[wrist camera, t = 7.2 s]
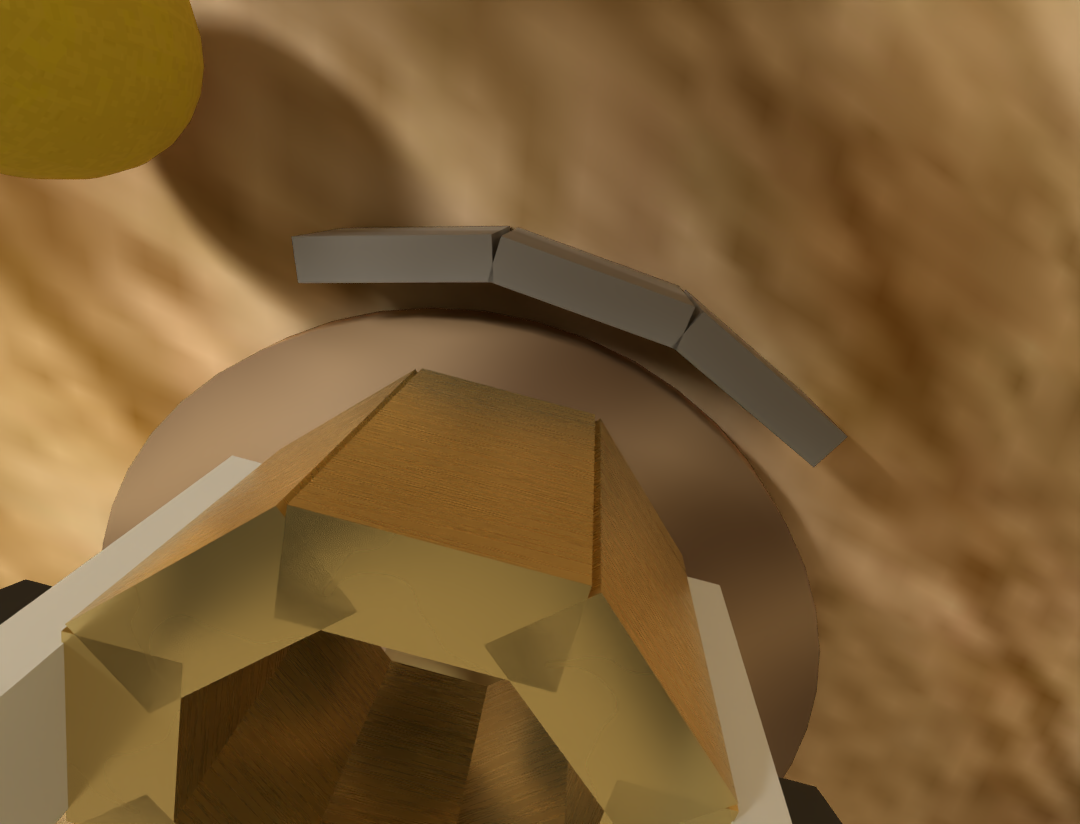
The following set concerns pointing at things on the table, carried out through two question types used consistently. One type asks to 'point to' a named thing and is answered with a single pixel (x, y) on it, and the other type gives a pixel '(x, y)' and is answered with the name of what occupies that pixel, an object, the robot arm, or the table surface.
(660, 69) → the table surface
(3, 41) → the lemon
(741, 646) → the carrier
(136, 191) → the table surface
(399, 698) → the gear
